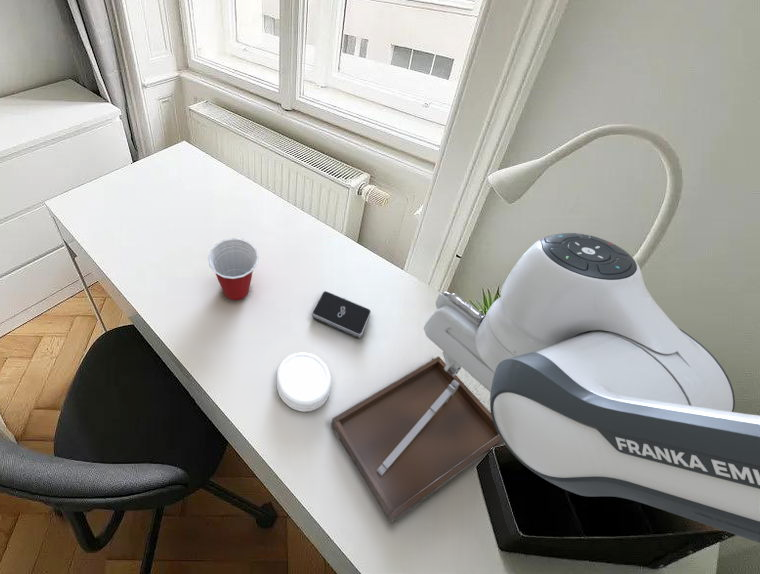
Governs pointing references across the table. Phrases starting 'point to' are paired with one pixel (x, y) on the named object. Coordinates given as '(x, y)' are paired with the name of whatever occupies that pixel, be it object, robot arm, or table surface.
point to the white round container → (303, 381)
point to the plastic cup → (233, 266)
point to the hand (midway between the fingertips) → (481, 397)
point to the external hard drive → (341, 314)
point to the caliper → (418, 427)
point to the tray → (429, 448)
